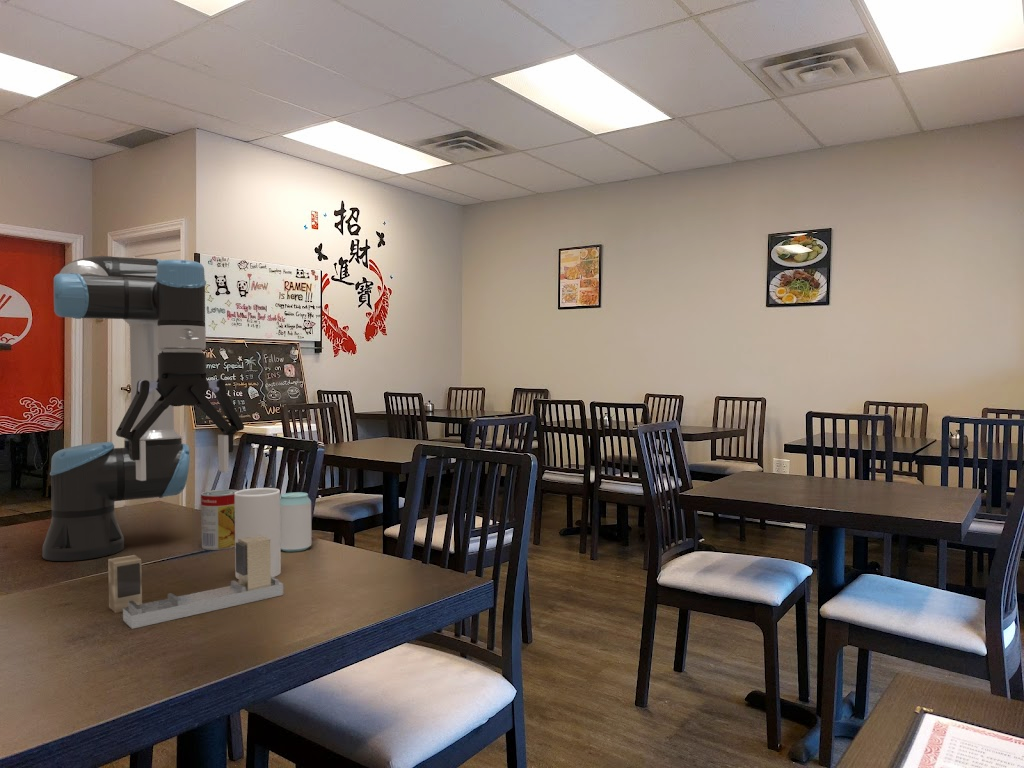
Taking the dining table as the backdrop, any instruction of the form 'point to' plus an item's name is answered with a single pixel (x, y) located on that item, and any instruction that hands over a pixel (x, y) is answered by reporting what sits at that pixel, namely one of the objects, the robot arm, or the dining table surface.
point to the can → (295, 522)
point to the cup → (259, 520)
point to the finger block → (124, 582)
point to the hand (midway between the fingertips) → (183, 475)
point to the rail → (251, 587)
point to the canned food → (218, 519)
